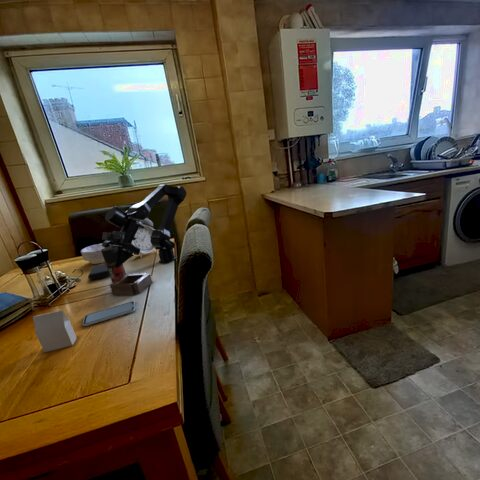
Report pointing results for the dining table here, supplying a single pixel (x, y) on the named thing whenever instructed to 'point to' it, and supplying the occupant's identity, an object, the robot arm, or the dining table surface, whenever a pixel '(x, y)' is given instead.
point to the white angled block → (54, 330)
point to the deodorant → (113, 262)
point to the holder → (131, 284)
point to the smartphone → (109, 313)
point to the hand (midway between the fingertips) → (111, 266)
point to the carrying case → (99, 272)
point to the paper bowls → (93, 254)
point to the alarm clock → (144, 237)
